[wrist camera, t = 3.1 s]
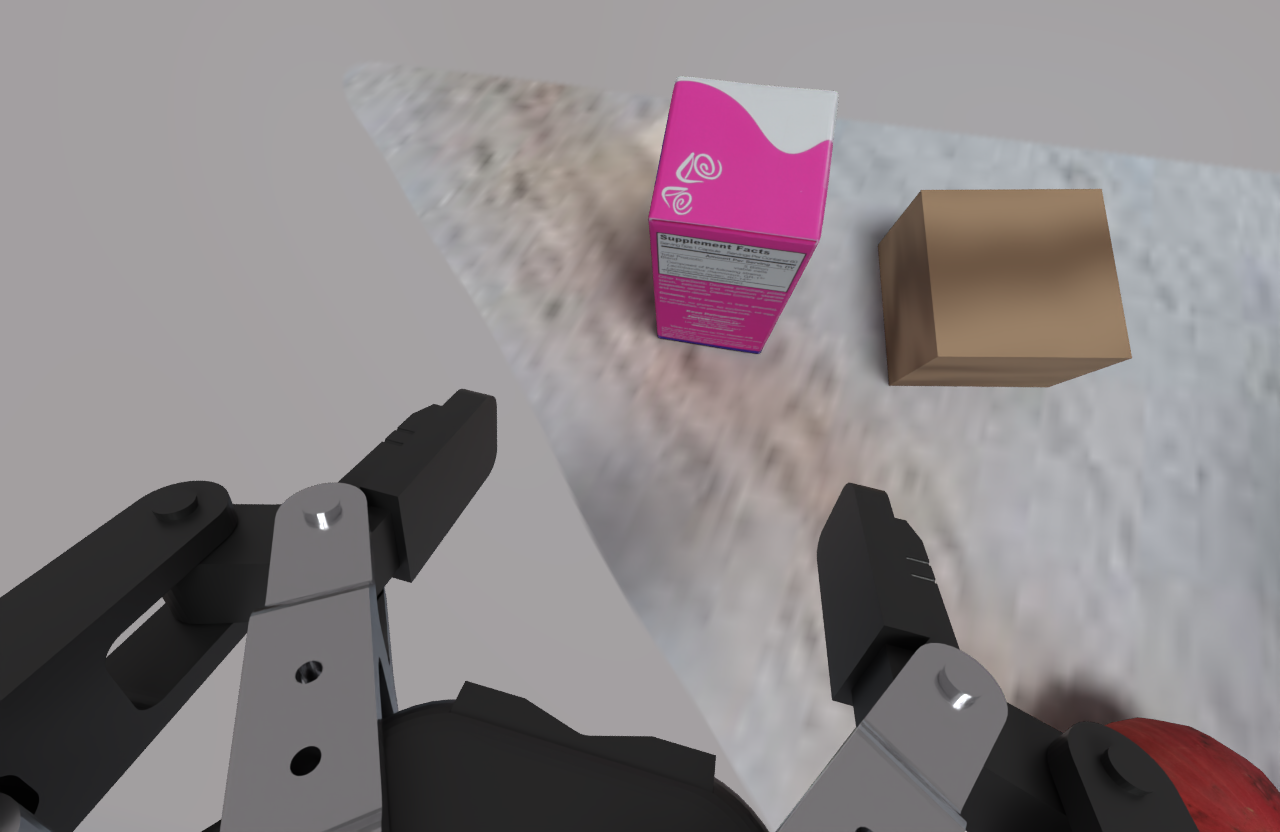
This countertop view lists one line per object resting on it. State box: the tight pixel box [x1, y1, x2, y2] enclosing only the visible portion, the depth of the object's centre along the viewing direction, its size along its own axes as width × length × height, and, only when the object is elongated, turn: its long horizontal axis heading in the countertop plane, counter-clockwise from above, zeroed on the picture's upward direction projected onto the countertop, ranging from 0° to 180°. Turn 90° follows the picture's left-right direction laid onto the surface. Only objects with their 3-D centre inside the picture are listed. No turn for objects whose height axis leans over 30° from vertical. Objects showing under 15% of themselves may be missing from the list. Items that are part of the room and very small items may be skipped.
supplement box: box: [648, 76, 838, 354], centre depth 22 cm, size 6×6×12 cm
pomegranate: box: [1104, 718, 1280, 832], centre depth 19 cm, size 6×6×8 cm
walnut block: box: [878, 189, 1132, 387], centre depth 25 cm, size 8×8×5 cm
